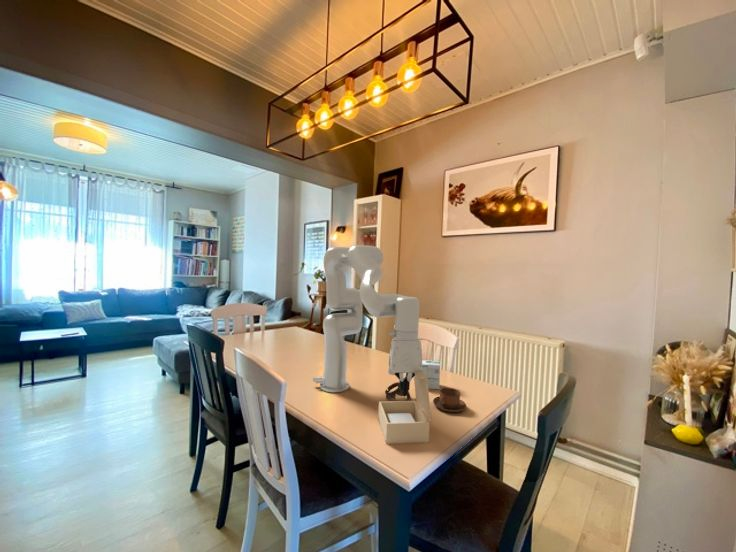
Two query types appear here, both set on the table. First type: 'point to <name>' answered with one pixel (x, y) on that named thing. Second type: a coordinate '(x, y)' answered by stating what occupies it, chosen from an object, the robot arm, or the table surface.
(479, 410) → the table surface
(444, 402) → the cup and saucer
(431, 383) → the light bulb box
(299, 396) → the table surface
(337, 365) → the robot arm
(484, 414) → the table surface
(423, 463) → the table surface
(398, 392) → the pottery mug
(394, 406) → the box
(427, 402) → the lid
